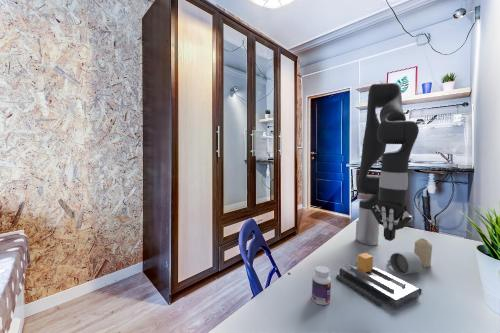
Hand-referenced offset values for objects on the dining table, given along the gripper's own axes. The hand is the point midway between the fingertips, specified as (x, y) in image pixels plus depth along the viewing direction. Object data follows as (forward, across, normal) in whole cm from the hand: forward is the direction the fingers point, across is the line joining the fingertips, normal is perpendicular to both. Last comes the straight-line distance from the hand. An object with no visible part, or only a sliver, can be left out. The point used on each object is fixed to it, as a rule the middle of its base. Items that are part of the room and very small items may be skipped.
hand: (389, 239), depth 73 cm
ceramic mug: (+18, -5, +18) cm, 26 cm away
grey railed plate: (+17, -3, 0) cm, 18 cm away
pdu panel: (+17, -3, 0) cm, 18 cm away
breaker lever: (+14, -8, 0) cm, 16 cm away
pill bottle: (+17, -6, -22) cm, 29 cm away
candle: (+18, -4, +31) cm, 36 cm away
